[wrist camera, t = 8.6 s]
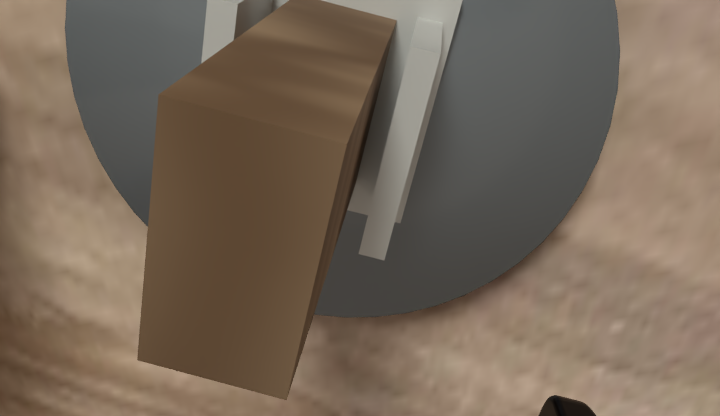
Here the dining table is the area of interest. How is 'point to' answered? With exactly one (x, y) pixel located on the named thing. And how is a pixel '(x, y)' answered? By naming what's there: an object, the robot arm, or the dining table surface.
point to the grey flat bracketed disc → (393, 128)
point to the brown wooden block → (256, 192)
